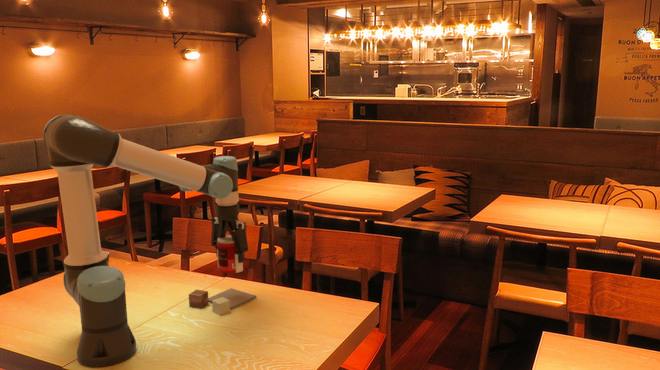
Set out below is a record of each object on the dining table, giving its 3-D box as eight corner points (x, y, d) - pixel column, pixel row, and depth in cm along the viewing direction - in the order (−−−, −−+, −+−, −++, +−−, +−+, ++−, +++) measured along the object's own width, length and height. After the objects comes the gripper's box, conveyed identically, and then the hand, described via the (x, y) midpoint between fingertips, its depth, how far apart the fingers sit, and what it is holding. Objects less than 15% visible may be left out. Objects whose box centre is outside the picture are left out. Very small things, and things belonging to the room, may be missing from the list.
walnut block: (201, 309, 183) (200, 296, 182) (189, 307, 184) (188, 294, 183) (208, 303, 187) (207, 291, 186) (197, 302, 188) (196, 289, 188)
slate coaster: (231, 309, 182) (231, 307, 182) (205, 301, 189) (205, 299, 188) (256, 297, 191) (256, 295, 191) (231, 290, 198) (231, 288, 198)
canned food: (244, 265, 192) (243, 235, 189) (238, 274, 184) (237, 242, 182) (222, 265, 192) (221, 234, 190) (215, 273, 185) (214, 241, 182)
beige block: (219, 315, 178) (219, 304, 177) (212, 312, 180) (212, 300, 180) (230, 312, 180) (229, 300, 179) (223, 308, 183) (222, 297, 182)
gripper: (258, 204, 181) (260, 271, 185) (214, 197, 192) (217, 260, 197) (242, 209, 175) (244, 278, 179) (197, 201, 186) (201, 266, 191)
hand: (230, 268), depth 188 cm, fingers closed on canned food, 8 cm apart
